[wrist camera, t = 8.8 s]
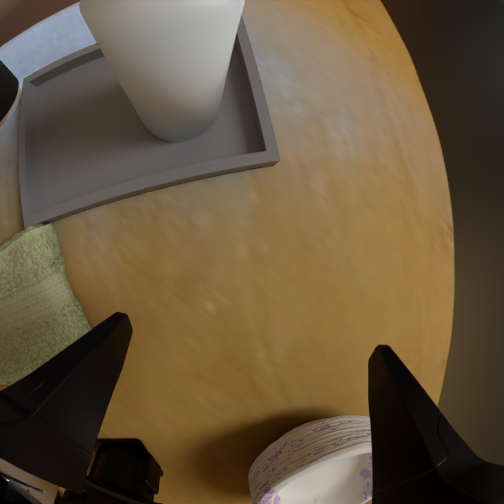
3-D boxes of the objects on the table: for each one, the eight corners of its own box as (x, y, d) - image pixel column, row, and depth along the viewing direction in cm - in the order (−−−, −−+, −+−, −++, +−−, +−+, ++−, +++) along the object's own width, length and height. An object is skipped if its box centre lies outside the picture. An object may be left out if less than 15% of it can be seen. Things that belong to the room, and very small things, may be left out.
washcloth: (-39, 276, 16) (-57, 282, 13) (57, 211, 18) (37, 210, 15) (6, 382, 18) (-7, 395, 15) (116, 356, 20) (105, 374, 17)
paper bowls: (214, 443, 22) (221, 504, 14) (348, 371, 23) (393, 416, 16) (279, 494, 25) (294, 537, 17) (380, 439, 26) (410, 475, 18)
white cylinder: (166, 157, 18) (114, 61, 5) (127, 100, 17) (63, -12, 4) (235, 114, 18) (286, -10, 6) (193, 61, 17) (198, -68, 4)
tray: (37, 227, 17) (24, 228, 15) (33, 86, 15) (23, 78, 13) (273, 165, 20) (280, 160, 18) (238, 26, 18) (241, 13, 16)
